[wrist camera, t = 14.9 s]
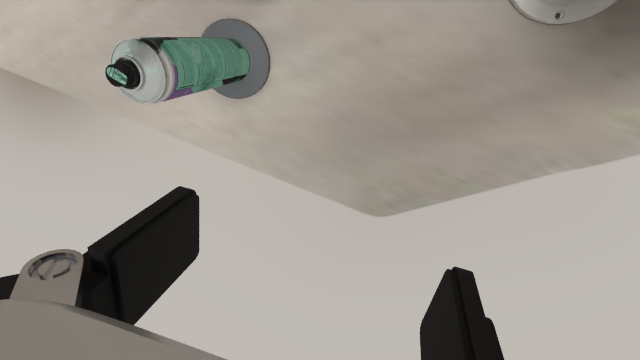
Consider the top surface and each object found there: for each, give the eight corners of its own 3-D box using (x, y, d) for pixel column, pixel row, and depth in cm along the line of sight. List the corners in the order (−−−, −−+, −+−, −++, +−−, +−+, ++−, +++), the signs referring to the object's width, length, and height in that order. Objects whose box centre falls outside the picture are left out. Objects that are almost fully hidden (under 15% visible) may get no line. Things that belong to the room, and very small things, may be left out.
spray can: (213, 36, 42) (75, 34, 24) (252, 39, 41) (139, 39, 23) (216, 79, 44) (92, 106, 26) (253, 83, 43) (150, 114, 25)
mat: (244, 3, 40) (240, 2, 40) (283, 76, 43) (281, 77, 42) (188, 44, 44) (184, 44, 43) (228, 109, 47) (224, 110, 46)
